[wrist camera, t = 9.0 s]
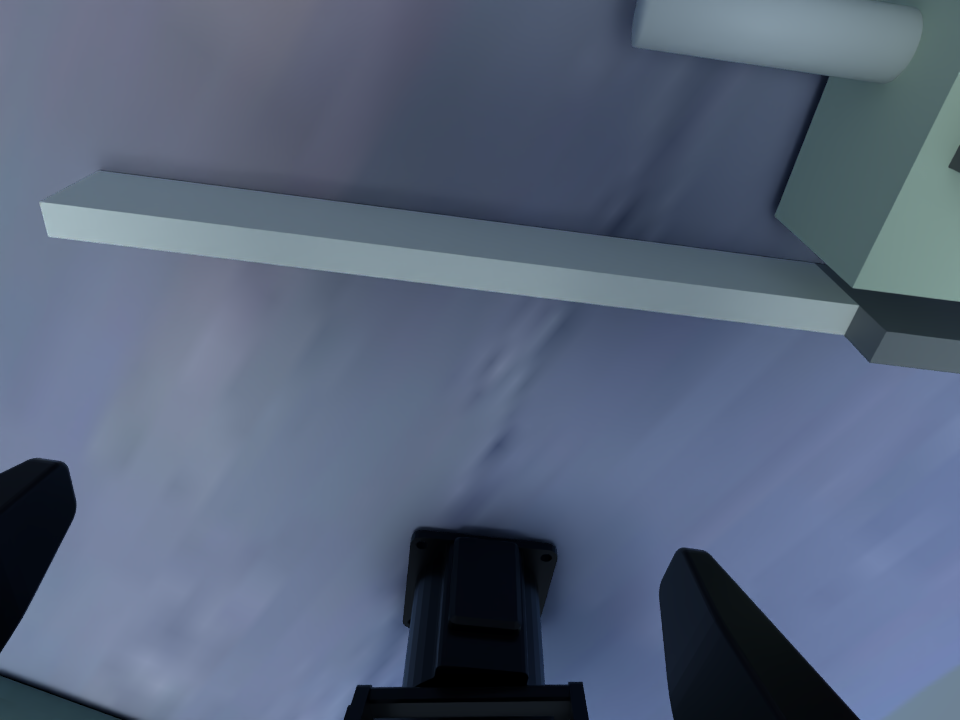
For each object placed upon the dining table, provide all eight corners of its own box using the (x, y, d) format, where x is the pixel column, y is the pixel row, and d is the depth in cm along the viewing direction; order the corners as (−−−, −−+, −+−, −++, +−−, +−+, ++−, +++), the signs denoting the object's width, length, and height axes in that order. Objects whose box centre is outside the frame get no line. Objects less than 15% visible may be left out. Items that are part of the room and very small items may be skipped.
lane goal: (1109, 329, 22) (1338, 467, 16) (104, 201, 20) (-59, 303, 14) (1565, -263, 14) (2377, -433, 8) (-48, -563, 12) (-578, -1071, 6)
